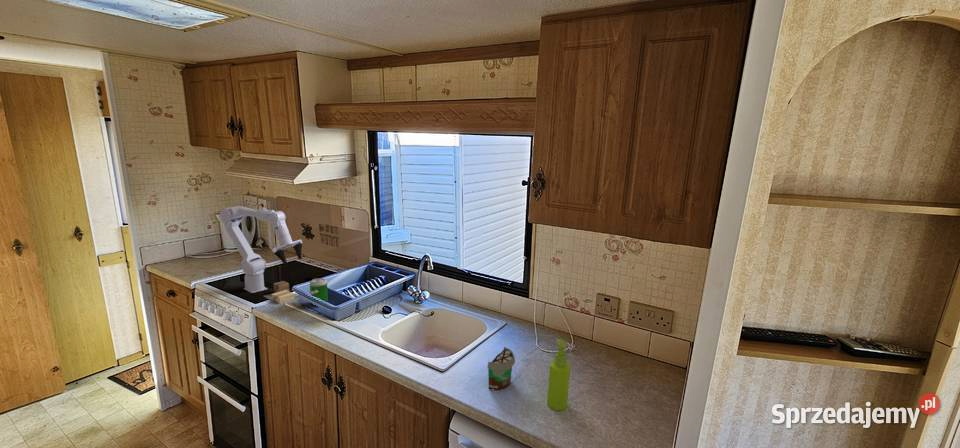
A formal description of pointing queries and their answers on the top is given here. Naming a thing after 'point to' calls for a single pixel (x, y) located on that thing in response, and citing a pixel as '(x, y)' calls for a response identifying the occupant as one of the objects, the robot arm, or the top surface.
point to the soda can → (319, 288)
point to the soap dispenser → (559, 379)
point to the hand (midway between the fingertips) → (293, 261)
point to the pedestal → (283, 296)
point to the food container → (501, 370)
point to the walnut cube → (281, 286)
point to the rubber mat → (275, 301)
